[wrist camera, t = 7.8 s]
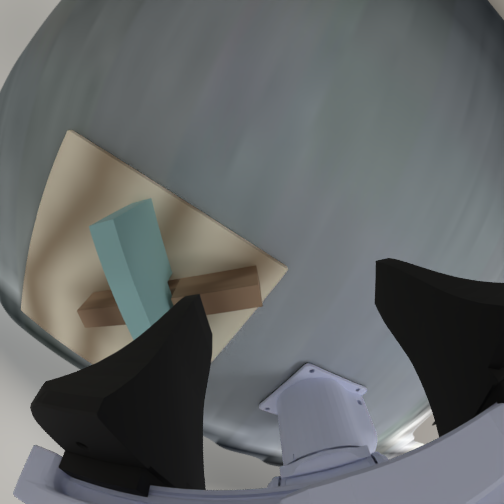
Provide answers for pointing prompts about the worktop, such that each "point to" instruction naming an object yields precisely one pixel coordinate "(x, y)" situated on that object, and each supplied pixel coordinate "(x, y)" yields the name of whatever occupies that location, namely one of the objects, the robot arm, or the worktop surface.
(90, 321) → the brown notched bar
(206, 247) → the ash board
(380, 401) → the worktop surface
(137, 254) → the teal bar
